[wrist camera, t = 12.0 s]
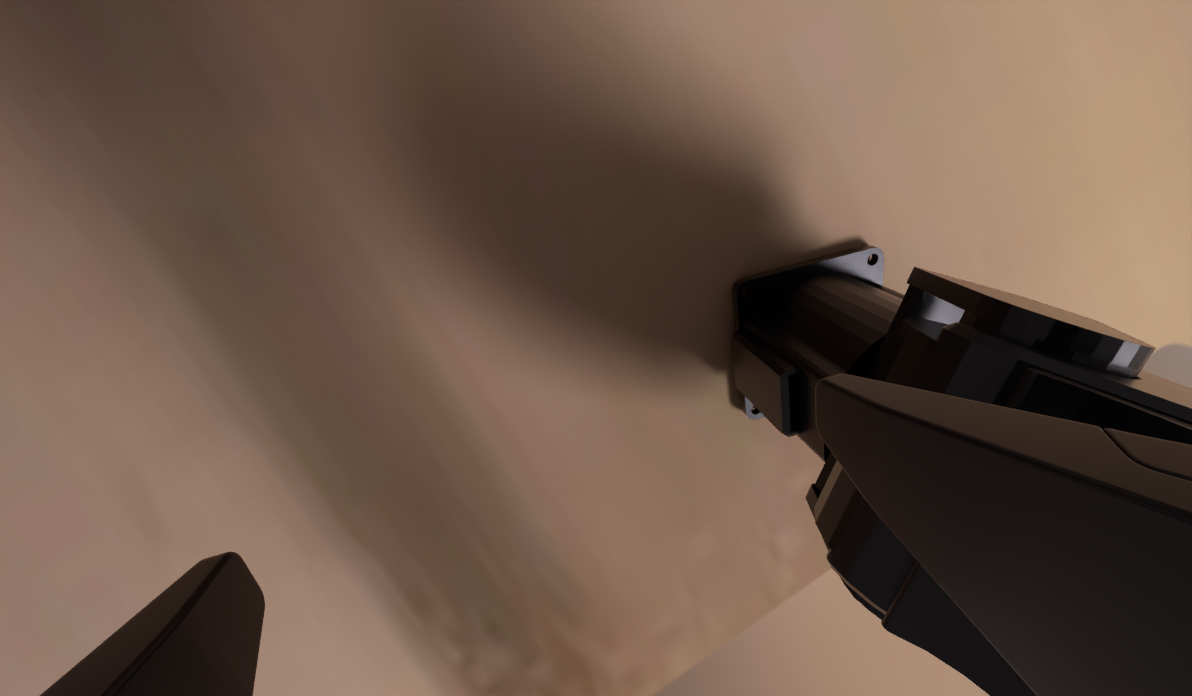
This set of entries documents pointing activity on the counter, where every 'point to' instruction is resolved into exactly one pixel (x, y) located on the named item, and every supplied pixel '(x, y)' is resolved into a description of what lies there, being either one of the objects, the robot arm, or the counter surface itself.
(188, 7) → the counter surface
